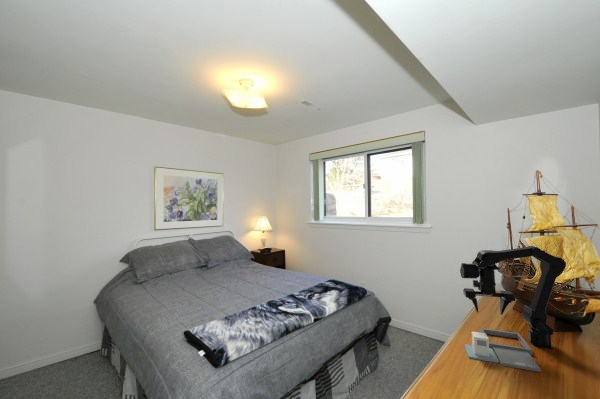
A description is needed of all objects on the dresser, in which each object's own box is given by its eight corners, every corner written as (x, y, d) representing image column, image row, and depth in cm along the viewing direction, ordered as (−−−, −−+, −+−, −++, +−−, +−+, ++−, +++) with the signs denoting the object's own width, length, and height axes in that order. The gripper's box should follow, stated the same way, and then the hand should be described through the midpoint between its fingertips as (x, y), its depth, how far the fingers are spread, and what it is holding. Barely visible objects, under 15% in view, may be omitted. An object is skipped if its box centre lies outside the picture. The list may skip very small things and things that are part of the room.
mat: (491, 349, 113) (491, 348, 113) (498, 362, 104) (498, 361, 104) (464, 345, 117) (464, 344, 117) (468, 357, 108) (468, 356, 108)
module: (486, 350, 112) (485, 333, 112) (489, 357, 107) (488, 339, 107) (472, 348, 114) (471, 331, 114) (474, 354, 109) (474, 337, 109)
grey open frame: (519, 337, 122) (518, 333, 122) (546, 372, 97) (546, 367, 97) (480, 332, 128) (480, 328, 128) (496, 364, 103) (496, 359, 103)
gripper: (505, 275, 126) (507, 308, 126) (460, 273, 133) (461, 305, 133) (514, 282, 116) (516, 318, 115) (465, 279, 122) (466, 313, 122)
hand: (489, 313), depth 122 cm, fingers open, 9 cm apart
